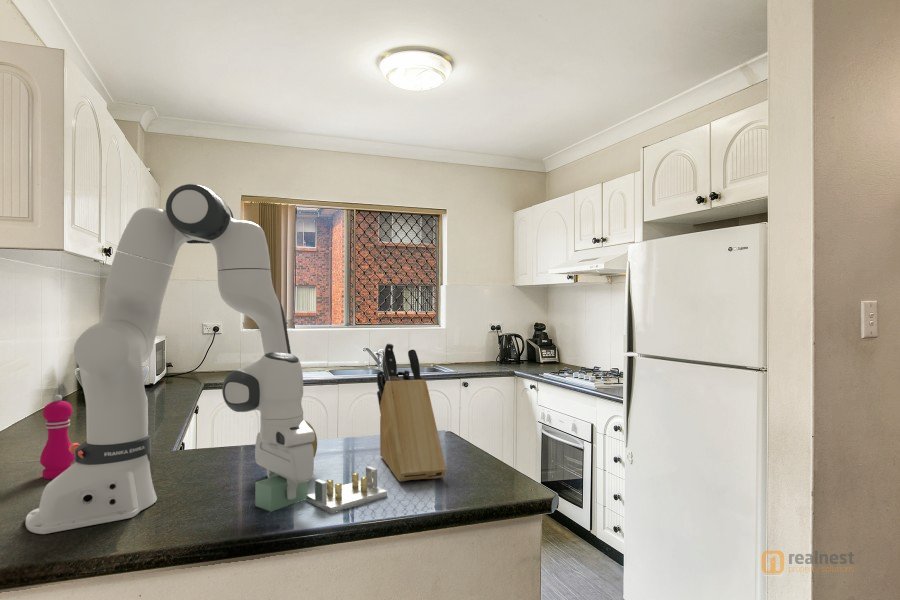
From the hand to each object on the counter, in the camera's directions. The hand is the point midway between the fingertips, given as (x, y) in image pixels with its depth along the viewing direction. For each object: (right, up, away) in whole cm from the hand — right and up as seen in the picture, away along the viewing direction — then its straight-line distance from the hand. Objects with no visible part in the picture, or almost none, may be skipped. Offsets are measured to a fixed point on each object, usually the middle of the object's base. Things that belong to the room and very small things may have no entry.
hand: (282, 493), depth 116 cm
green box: (0, -2, 0) cm, 2 cm away
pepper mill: (-62, -2, +19) cm, 65 cm away
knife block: (+24, -2, +27) cm, 36 cm away
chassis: (+13, -2, +2) cm, 14 cm away
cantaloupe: (-4, -2, +18) cm, 18 cm away
